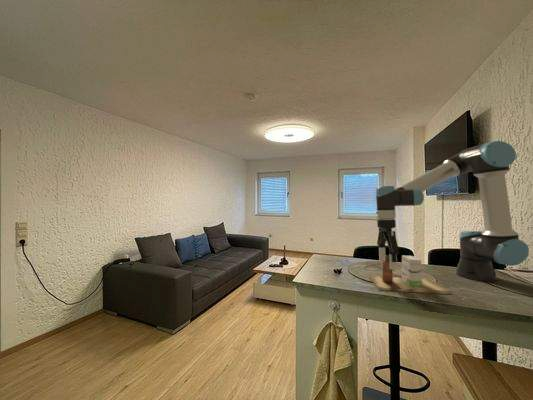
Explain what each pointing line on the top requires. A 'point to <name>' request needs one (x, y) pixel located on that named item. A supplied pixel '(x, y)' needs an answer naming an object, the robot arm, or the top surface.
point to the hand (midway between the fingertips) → (387, 264)
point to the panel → (400, 285)
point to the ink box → (411, 271)
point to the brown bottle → (387, 271)
